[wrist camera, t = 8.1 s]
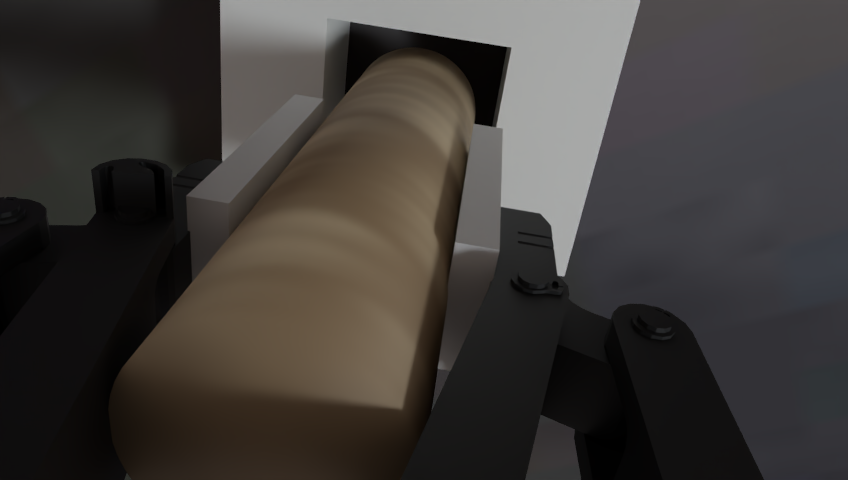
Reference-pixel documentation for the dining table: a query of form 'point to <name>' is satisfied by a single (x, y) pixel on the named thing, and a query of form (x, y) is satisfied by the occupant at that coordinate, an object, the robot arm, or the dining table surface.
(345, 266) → the dowel
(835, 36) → the dining table surface
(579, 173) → the socket board
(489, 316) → the robot arm
